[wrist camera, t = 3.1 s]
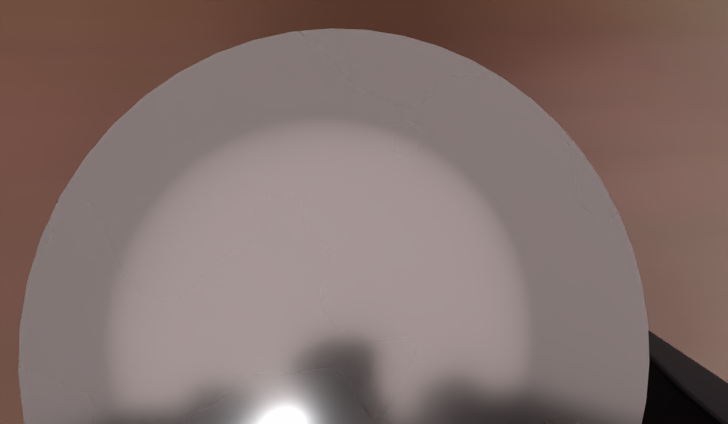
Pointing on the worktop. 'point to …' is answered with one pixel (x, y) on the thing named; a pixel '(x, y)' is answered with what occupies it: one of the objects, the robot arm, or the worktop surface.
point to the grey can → (334, 253)
